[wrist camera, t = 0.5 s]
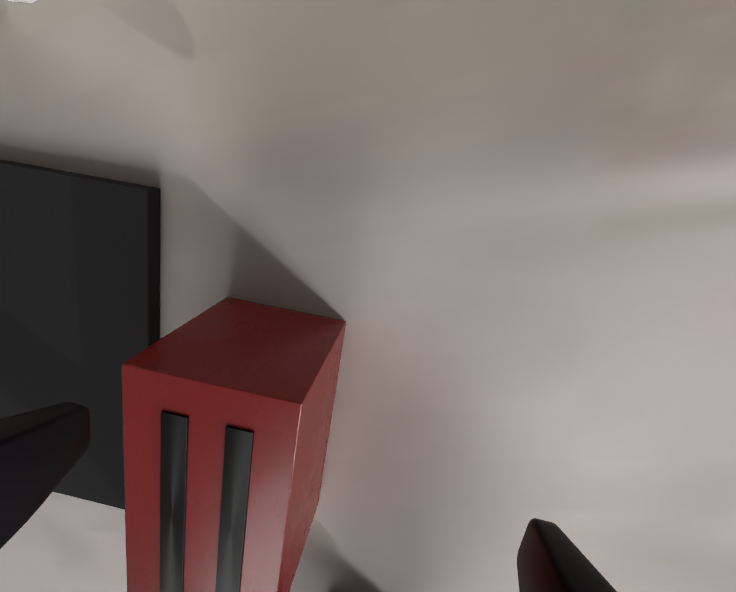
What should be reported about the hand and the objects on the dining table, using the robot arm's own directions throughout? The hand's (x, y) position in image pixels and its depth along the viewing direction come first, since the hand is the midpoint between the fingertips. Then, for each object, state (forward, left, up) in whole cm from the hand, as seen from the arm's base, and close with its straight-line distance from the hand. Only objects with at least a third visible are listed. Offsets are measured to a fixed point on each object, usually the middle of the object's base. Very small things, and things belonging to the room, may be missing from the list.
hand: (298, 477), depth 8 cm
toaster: (-8, +5, -13) cm, 16 cm away
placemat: (-7, +19, -13) cm, 24 cm away
